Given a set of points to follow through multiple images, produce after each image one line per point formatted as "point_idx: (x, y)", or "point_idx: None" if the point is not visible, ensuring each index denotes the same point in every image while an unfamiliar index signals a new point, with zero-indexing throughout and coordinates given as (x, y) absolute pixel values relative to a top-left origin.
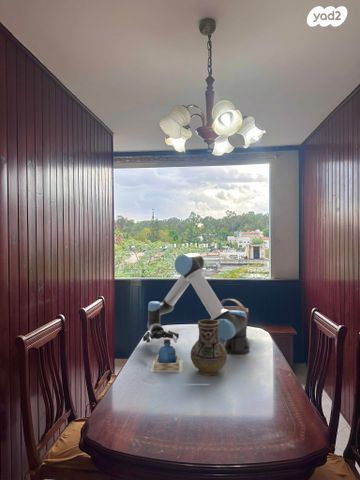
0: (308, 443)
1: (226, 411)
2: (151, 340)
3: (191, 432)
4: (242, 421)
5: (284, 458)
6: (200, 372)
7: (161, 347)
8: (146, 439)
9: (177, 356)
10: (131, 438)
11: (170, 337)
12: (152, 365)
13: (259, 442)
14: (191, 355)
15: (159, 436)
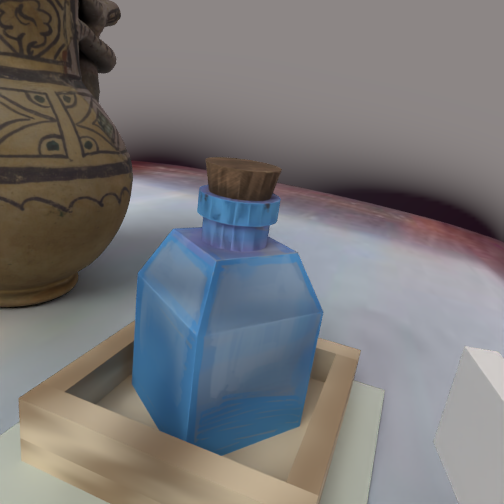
0: (135, 163)
1: (189, 199)
2: (473, 357)
3: (294, 201)
4: (183, 187)
5: (191, 168)
6: (77, 276)
7: (298, 258)
8: (379, 214)
9: (65, 385)
10: (409, 221)
11: None
12: (360, 485)
13: (198, 176)
14: (127, 185)
15: (355, 211)
